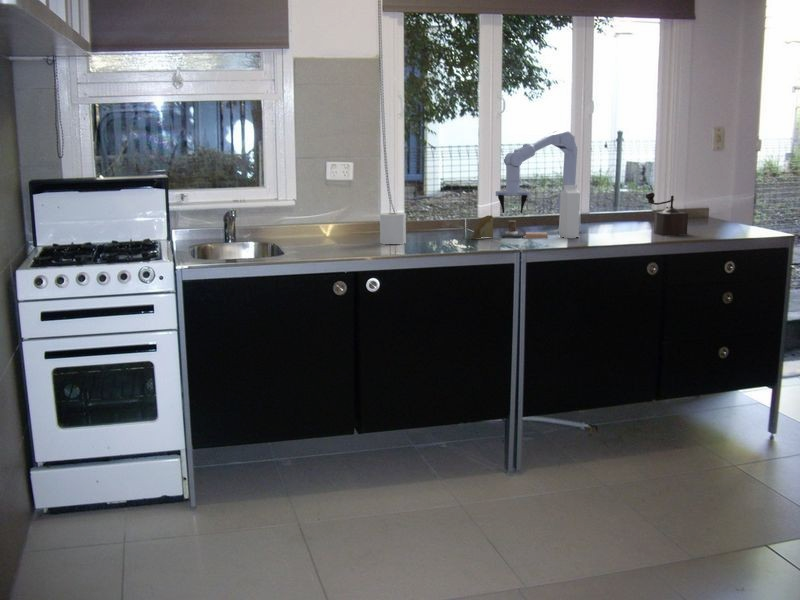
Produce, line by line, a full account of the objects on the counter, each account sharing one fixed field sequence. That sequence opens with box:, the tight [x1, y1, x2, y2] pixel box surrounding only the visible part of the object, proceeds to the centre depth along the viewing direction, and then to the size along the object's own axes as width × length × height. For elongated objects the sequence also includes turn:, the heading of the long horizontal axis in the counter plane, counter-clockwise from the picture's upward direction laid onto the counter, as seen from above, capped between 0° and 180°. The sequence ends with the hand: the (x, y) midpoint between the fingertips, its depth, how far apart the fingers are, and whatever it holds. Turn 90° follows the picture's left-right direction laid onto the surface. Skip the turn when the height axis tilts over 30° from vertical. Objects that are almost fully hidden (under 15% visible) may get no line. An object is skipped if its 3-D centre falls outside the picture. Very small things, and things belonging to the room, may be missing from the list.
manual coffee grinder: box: [644, 191, 689, 236], centre depth 372 cm, size 16×11×18 cm
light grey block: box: [379, 212, 407, 245], centre depth 351 cm, size 10×10×12 cm
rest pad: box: [501, 231, 525, 239], centre depth 372 cm, size 9×12×1 cm
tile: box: [525, 231, 548, 239], centre depth 367 cm, size 9×2×8 cm
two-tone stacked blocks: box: [505, 220, 519, 235], centre depth 372 cm, size 5×12×5 cm, turn 171°
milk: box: [558, 184, 581, 239], centre depth 364 cm, size 6×6×22 cm
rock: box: [471, 214, 494, 240], centre depth 365 cm, size 11×9×10 cm
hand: (512, 212), depth 374 cm, fingers open, 7 cm apart
